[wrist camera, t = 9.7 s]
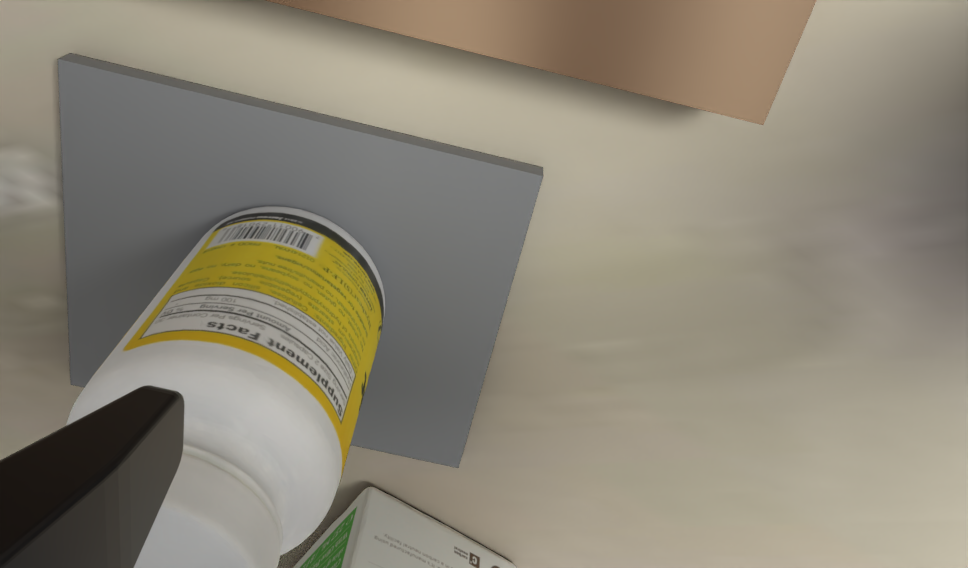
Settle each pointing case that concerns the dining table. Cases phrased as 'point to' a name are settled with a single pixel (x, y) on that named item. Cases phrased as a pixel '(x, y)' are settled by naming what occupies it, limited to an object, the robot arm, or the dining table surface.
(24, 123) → the dining table surface
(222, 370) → the supplement bottle
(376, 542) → the skincare box
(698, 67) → the wooden block with hole
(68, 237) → the rubber mat
